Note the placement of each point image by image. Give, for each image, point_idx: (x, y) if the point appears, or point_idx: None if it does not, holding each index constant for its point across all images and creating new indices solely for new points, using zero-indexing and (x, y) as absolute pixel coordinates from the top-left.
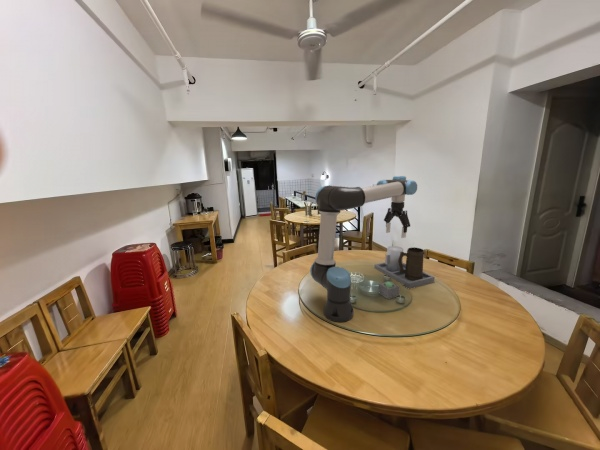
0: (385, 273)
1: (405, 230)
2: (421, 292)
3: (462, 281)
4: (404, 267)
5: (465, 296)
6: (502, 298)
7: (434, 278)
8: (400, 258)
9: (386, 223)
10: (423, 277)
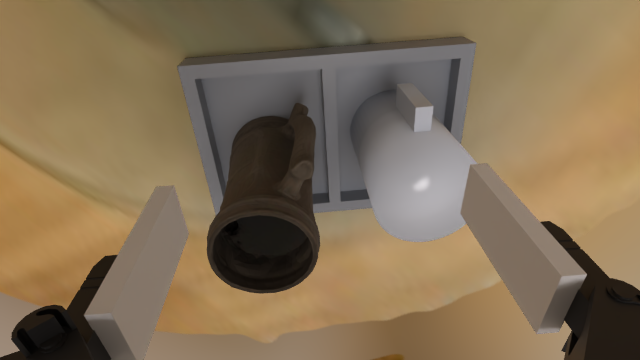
0: (365, 47)
1: (84, 293)
2: (144, 92)
3: (203, 290)
4: None
5: (91, 222)
6: (70, 301)
7: None
8: (299, 136)
9: (590, 272)
10: None
